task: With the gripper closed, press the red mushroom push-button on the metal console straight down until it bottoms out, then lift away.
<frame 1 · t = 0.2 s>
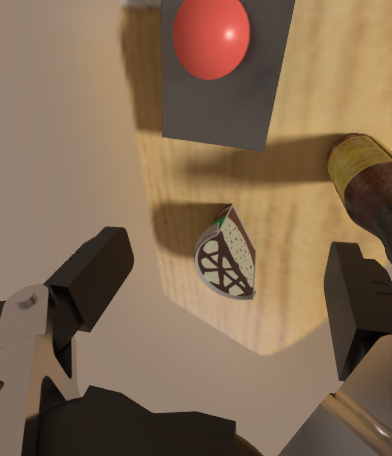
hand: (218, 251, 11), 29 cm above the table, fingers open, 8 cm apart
red button: (217, 37, 24), point 8 cm above the table, slide at 3.0 cm
console: (231, 39, 31), on the table
sauce bottle: (353, 156, 34), on the table
food container: (227, 232, 45), on the table
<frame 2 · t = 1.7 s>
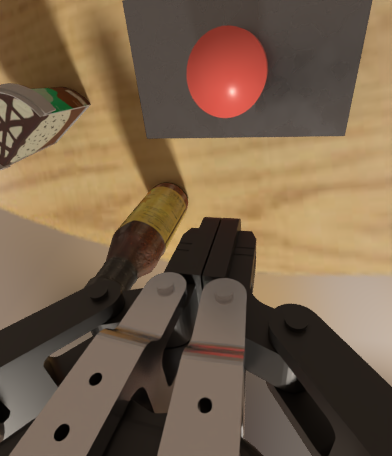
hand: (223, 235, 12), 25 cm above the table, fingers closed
red button: (232, 71, 23), point 8 cm above the table, slide at 3.0 cm
console: (244, 65, 29), on the table
sauce bottle: (170, 200, 42), on the table
food container: (57, 105, 38), on the table
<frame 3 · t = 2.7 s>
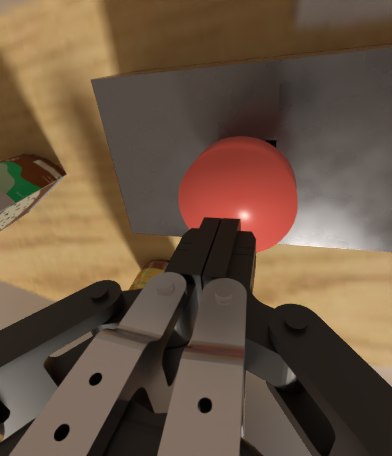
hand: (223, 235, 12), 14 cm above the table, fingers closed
red button: (243, 179, 17), point 8 cm above the table, slide at 3.0 cm
console: (254, 142, 23), on the table
sauce bottle: (166, 276, 35), on the table
food container: (27, 173, 32), on the table
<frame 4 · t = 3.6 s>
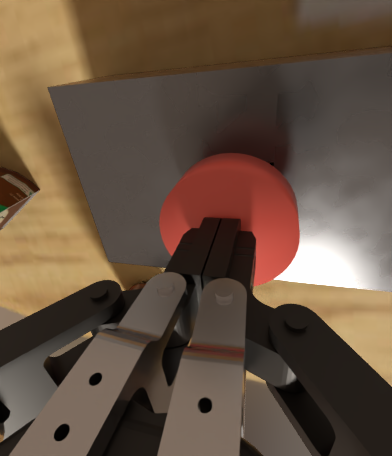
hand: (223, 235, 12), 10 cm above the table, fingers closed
red button: (236, 199, 14), point 7 cm above the table, slide at 1.7 cm, touching gripper
console: (249, 157, 20), on the table
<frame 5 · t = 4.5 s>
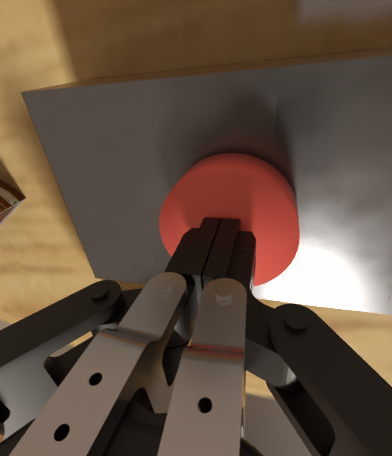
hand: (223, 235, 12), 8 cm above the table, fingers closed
red button: (236, 200, 14), point 5 cm above the table, slide at -0.1 cm, touching gripper
console: (246, 166, 18), on the table
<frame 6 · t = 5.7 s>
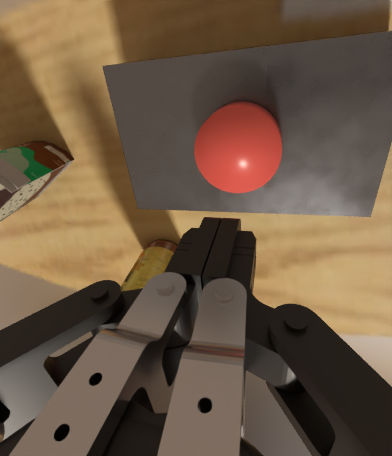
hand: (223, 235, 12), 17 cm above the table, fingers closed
red button: (242, 139, 22), point 5 cm above the table, slide at -0.1 cm
console: (247, 124, 25), on the table
sauce bottle: (167, 255, 38), on the table
food container: (37, 159, 34), on the table
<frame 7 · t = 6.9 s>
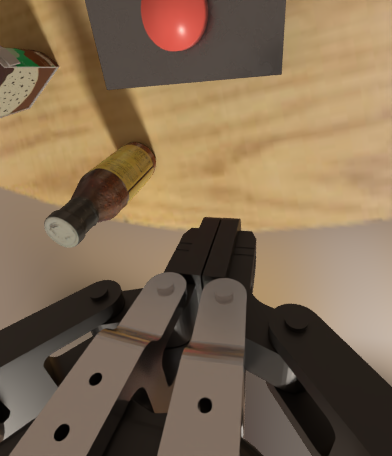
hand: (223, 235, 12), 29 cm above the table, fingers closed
red button: (182, 15, 28), point 5 cm above the table, slide at -0.1 cm
console: (195, 18, 32), on the table
sauce bottle: (140, 160, 44), on the table
food container: (28, 70, 40), on the table
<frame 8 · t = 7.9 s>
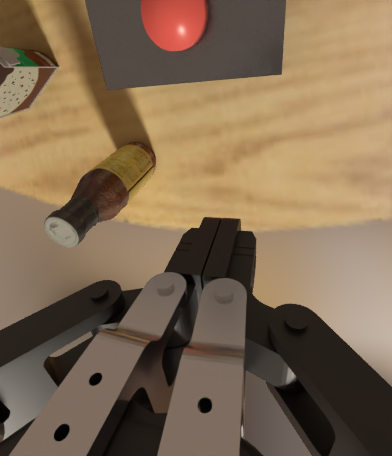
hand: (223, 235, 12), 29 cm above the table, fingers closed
red button: (182, 15, 28), point 5 cm above the table, slide at -0.1 cm
console: (195, 18, 32), on the table
sauce bottle: (140, 160, 44), on the table
food container: (28, 70, 40), on the table
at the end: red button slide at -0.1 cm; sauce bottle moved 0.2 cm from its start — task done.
